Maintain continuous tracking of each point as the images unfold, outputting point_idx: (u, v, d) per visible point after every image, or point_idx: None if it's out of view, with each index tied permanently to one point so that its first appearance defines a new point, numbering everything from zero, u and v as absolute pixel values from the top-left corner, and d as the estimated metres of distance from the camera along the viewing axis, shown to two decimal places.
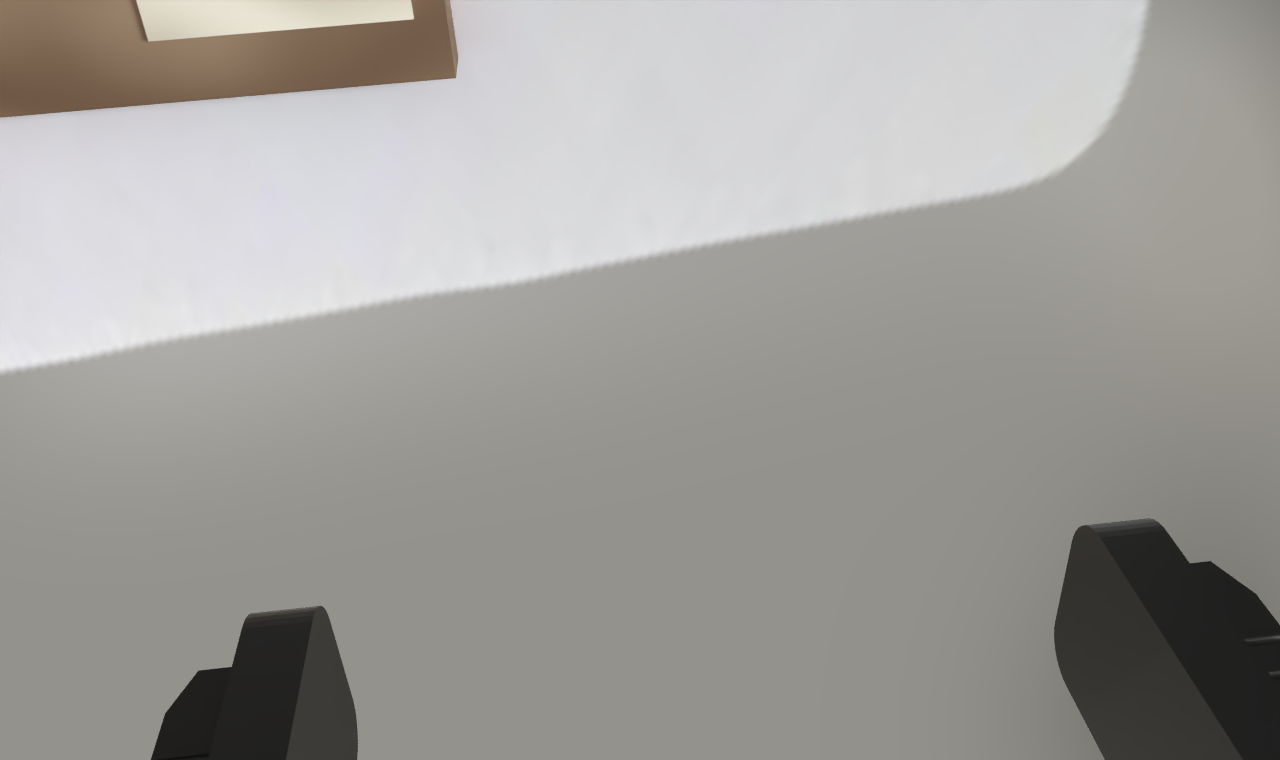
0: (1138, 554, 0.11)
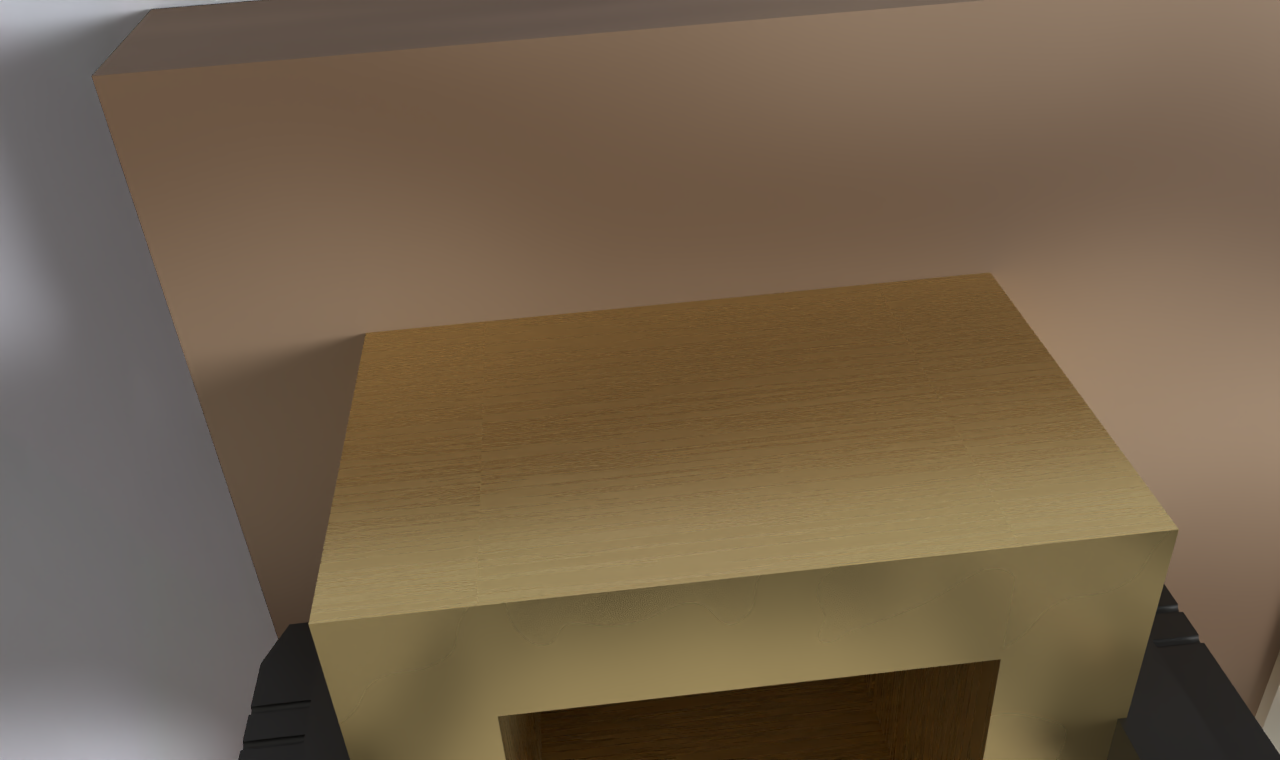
0: None
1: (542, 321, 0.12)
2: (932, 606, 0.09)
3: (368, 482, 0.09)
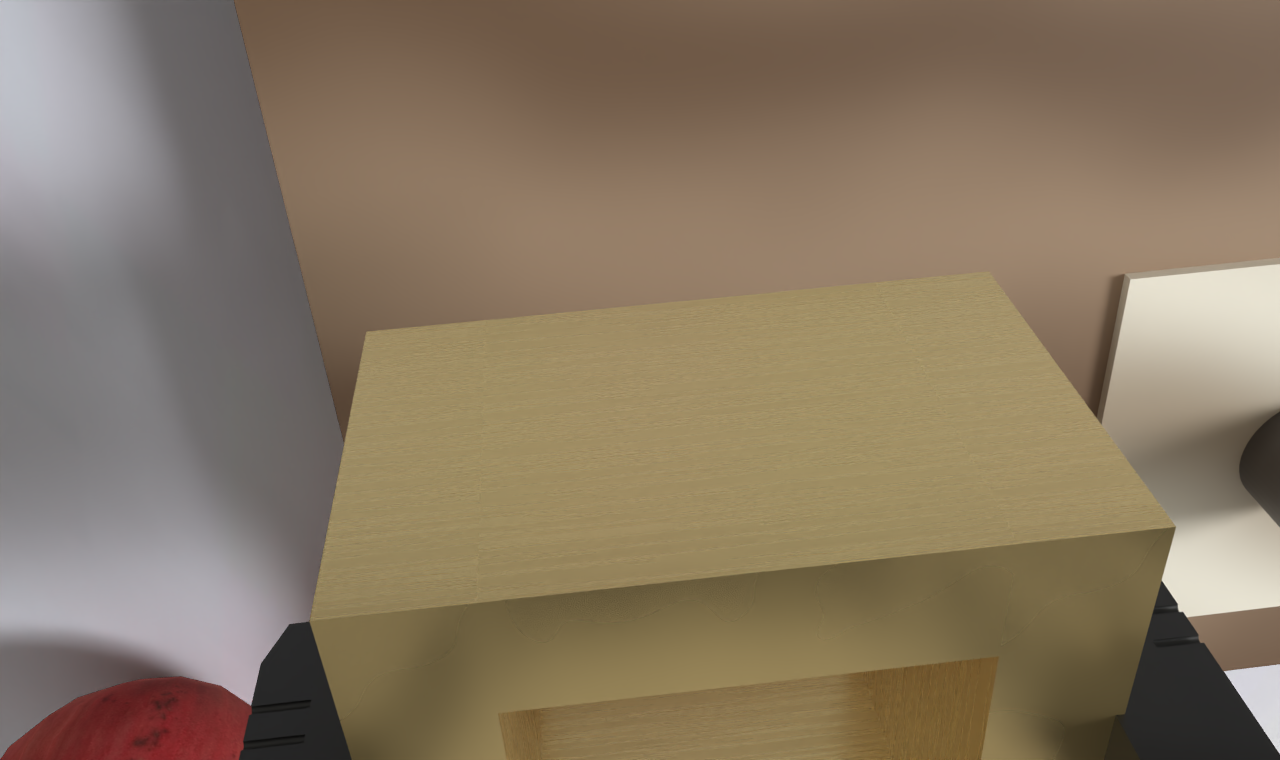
0: None
1: (542, 321, 0.12)
2: (929, 603, 0.09)
3: (368, 480, 0.10)
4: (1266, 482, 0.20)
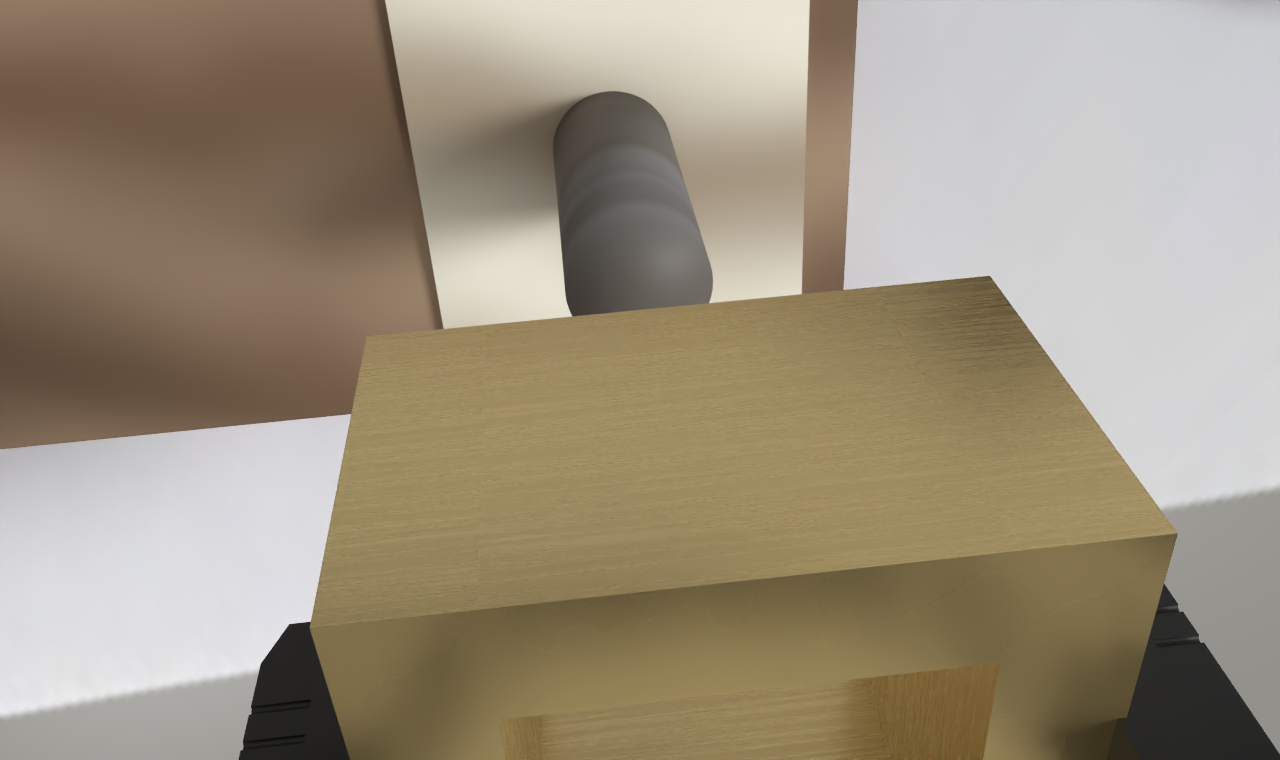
0: None
1: (542, 324, 0.12)
2: (931, 610, 0.09)
3: (369, 486, 0.10)
4: (554, 167, 0.23)
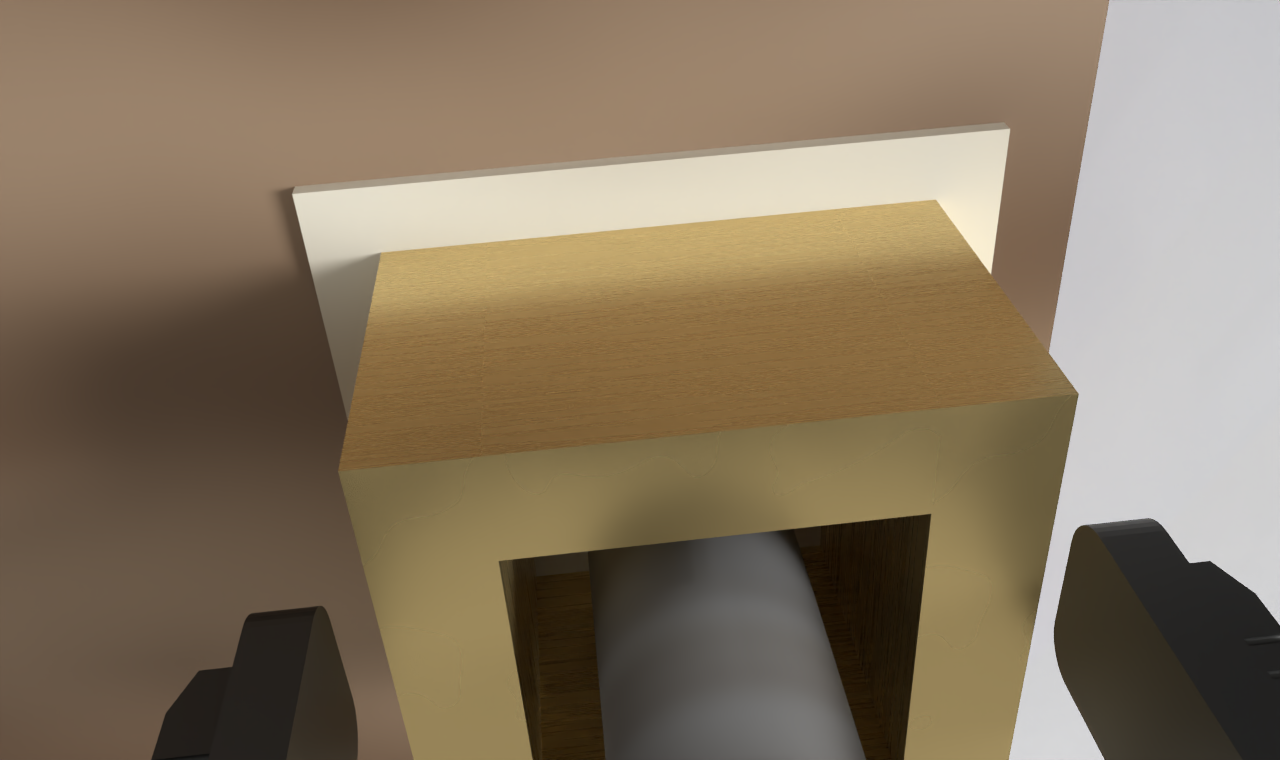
0: (1138, 554, 0.11)
1: (537, 243, 0.13)
2: (869, 462, 0.10)
3: (386, 367, 0.11)
4: None
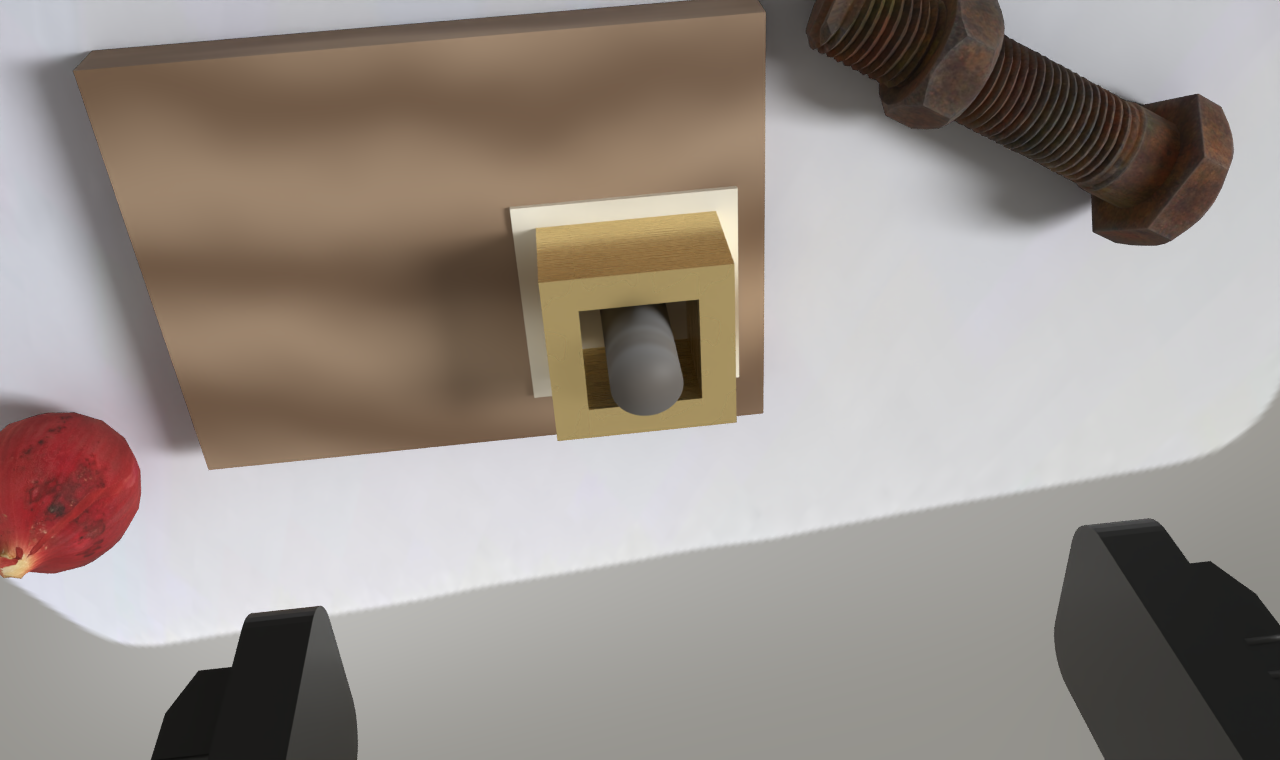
0: (1138, 554, 0.11)
1: (586, 224, 0.40)
2: (680, 283, 0.37)
3: (545, 259, 0.38)
4: (599, 311, 0.41)
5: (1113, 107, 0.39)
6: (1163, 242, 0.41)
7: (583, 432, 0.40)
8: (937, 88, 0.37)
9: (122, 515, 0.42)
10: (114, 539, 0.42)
